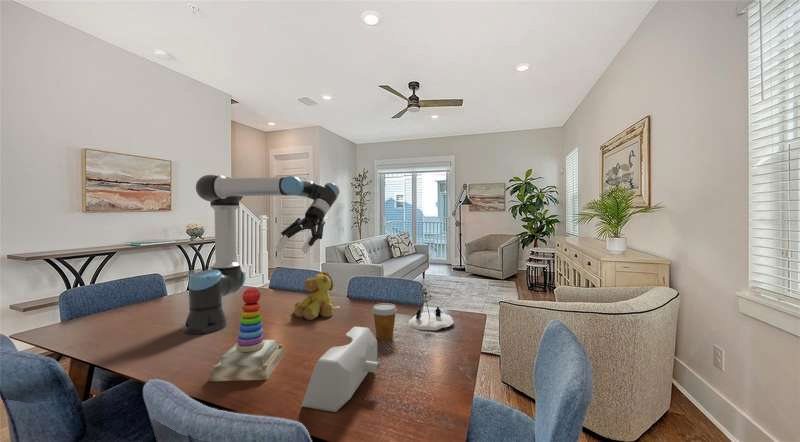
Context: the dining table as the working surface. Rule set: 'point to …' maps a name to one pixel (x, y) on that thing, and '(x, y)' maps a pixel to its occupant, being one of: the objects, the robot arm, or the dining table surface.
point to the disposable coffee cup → (384, 320)
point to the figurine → (430, 317)
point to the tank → (342, 371)
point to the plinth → (248, 370)
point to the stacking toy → (250, 323)
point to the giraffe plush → (316, 298)
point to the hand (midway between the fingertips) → (290, 250)
